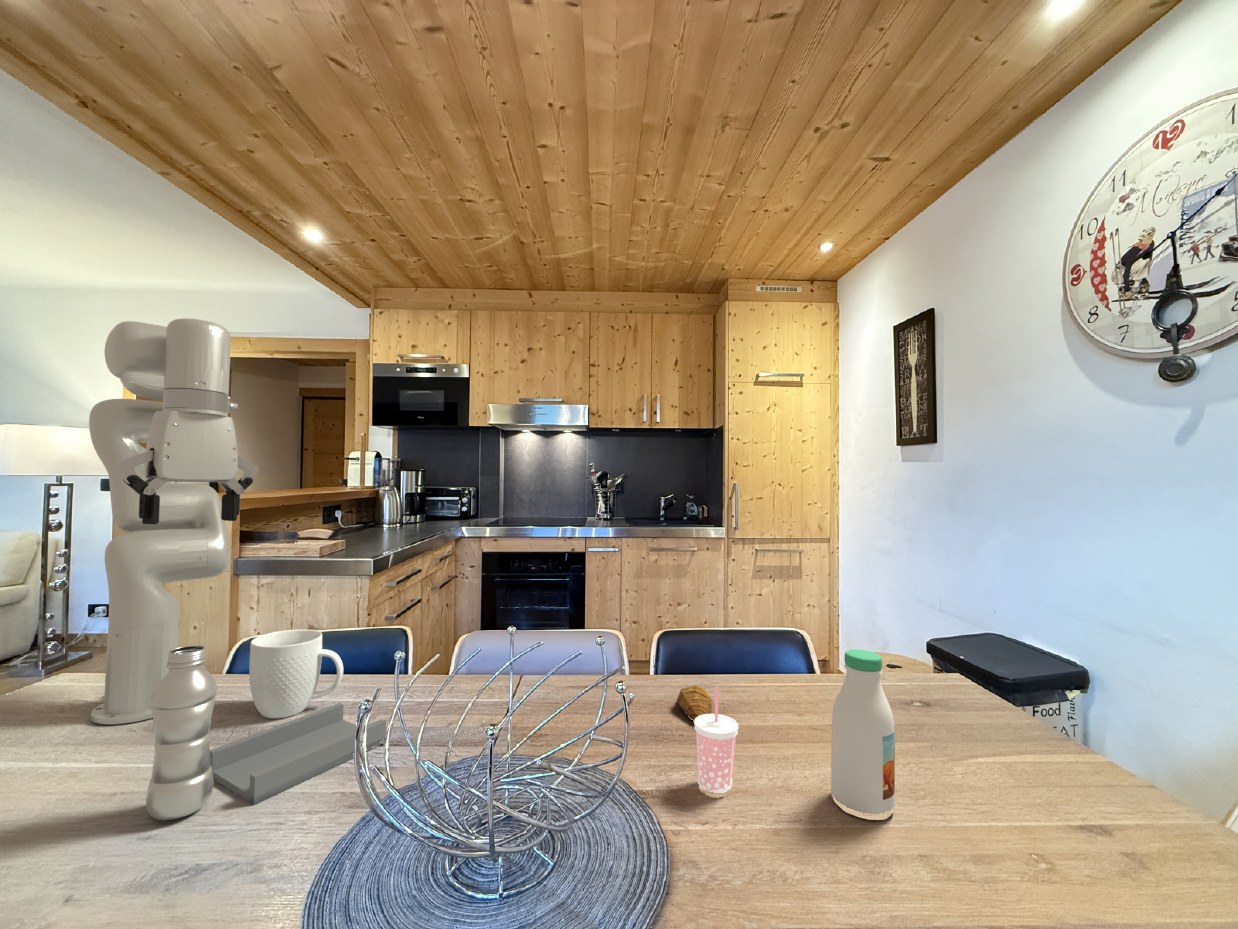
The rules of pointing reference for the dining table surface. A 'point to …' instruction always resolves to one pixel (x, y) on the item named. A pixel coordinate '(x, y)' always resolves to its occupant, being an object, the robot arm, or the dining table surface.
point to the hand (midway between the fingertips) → (191, 522)
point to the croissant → (695, 701)
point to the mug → (288, 671)
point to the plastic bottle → (182, 736)
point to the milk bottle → (863, 738)
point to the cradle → (289, 753)
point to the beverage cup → (715, 749)
